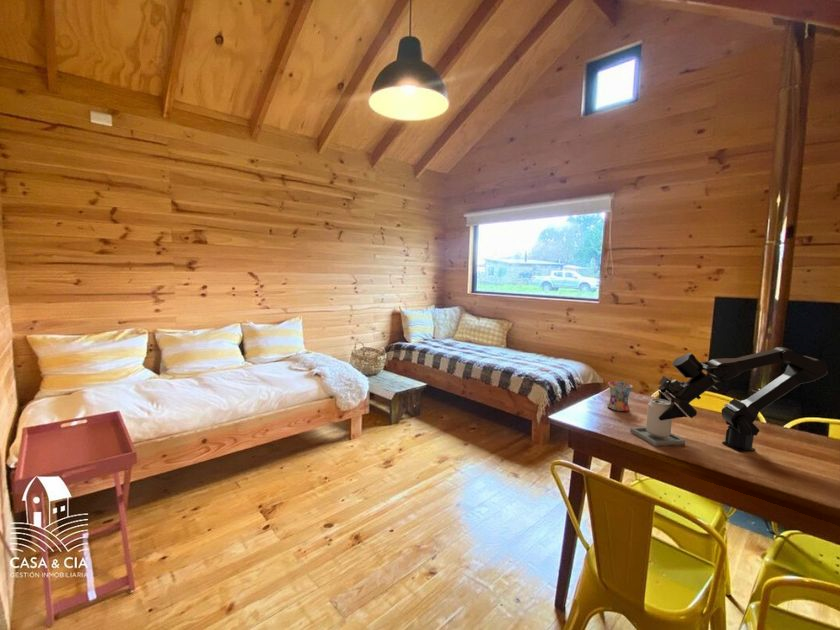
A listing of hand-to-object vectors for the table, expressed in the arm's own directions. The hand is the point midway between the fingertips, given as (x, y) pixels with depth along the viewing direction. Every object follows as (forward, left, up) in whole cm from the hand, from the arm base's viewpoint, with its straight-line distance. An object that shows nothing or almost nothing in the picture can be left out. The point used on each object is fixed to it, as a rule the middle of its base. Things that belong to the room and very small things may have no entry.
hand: (655, 415), depth 135 cm
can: (-1, -1, -7) cm, 7 cm away
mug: (+28, -8, -9) cm, 30 cm away
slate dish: (0, -1, -8) cm, 8 cm away
